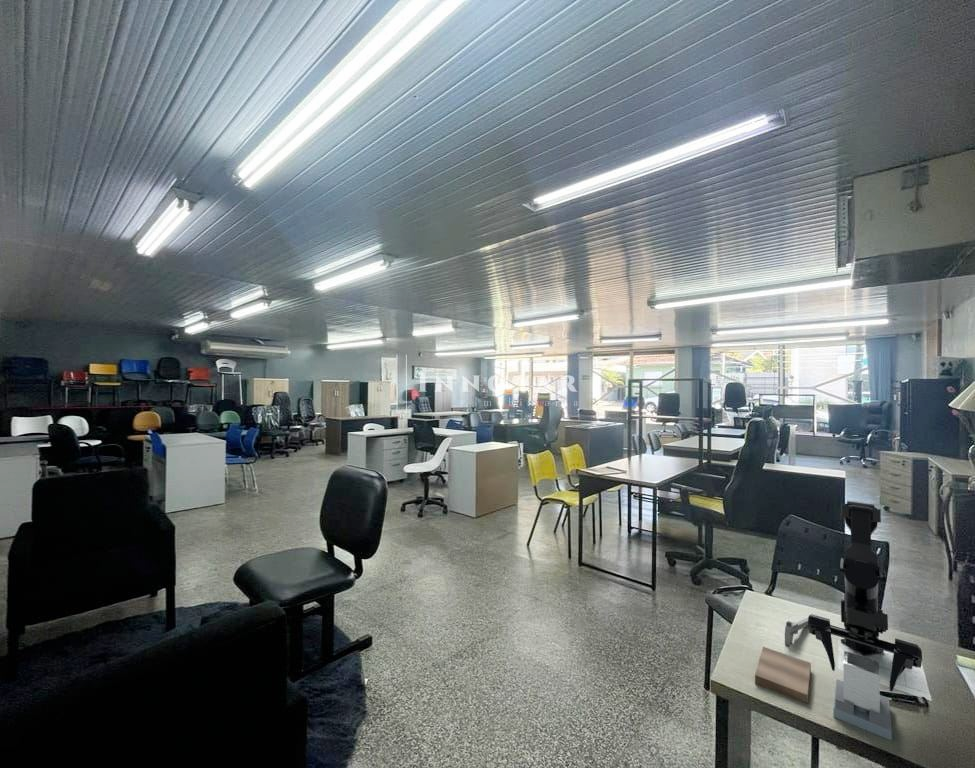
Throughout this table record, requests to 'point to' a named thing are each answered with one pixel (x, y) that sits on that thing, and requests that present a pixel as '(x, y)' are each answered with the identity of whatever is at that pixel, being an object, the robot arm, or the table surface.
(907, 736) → the table surface
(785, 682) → the walnut board
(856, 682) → the steel sleeve
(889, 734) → the vise
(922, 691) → the table surface
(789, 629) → the caliper
